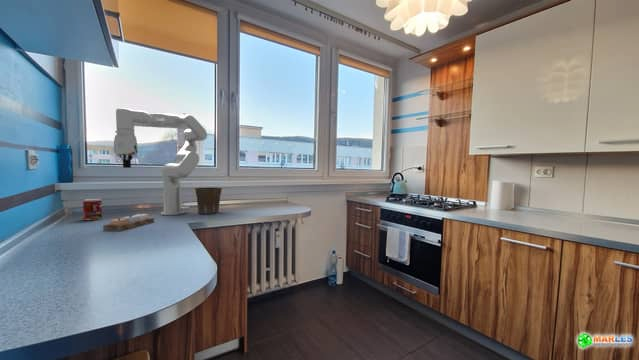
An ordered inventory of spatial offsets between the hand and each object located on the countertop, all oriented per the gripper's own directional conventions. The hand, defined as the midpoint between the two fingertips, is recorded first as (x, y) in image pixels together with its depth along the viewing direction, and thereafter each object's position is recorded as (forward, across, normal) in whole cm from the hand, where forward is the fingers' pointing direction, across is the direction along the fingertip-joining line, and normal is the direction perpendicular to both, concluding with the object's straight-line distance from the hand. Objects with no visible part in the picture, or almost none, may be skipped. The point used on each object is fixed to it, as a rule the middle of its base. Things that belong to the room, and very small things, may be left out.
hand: (127, 167), depth 136 cm
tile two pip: (+28, +10, -11) cm, 31 cm away
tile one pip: (+28, +10, -4) cm, 30 cm away
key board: (+28, +10, -11) cm, 32 cm away
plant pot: (+30, +29, +30) cm, 51 cm away
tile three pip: (+28, +10, -17) cm, 34 cm away
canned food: (+29, -23, +2) cm, 37 cm away
